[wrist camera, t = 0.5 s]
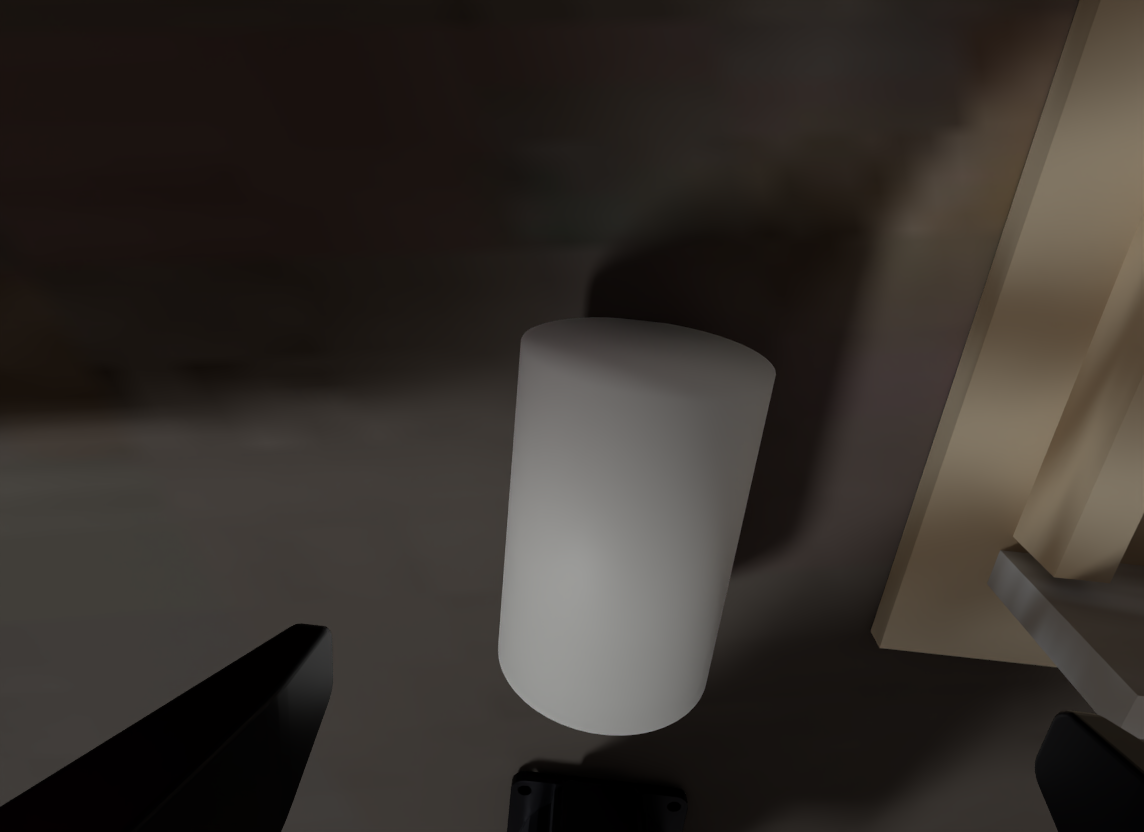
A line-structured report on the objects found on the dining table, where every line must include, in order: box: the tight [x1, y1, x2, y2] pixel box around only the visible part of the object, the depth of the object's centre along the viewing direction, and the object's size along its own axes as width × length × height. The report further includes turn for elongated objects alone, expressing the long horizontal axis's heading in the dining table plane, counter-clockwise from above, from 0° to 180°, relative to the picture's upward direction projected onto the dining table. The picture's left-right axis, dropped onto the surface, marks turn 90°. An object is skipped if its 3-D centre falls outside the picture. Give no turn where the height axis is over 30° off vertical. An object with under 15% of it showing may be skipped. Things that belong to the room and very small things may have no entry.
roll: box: [498, 317, 776, 736], centre depth 18 cm, size 9×6×6 cm, turn 174°
